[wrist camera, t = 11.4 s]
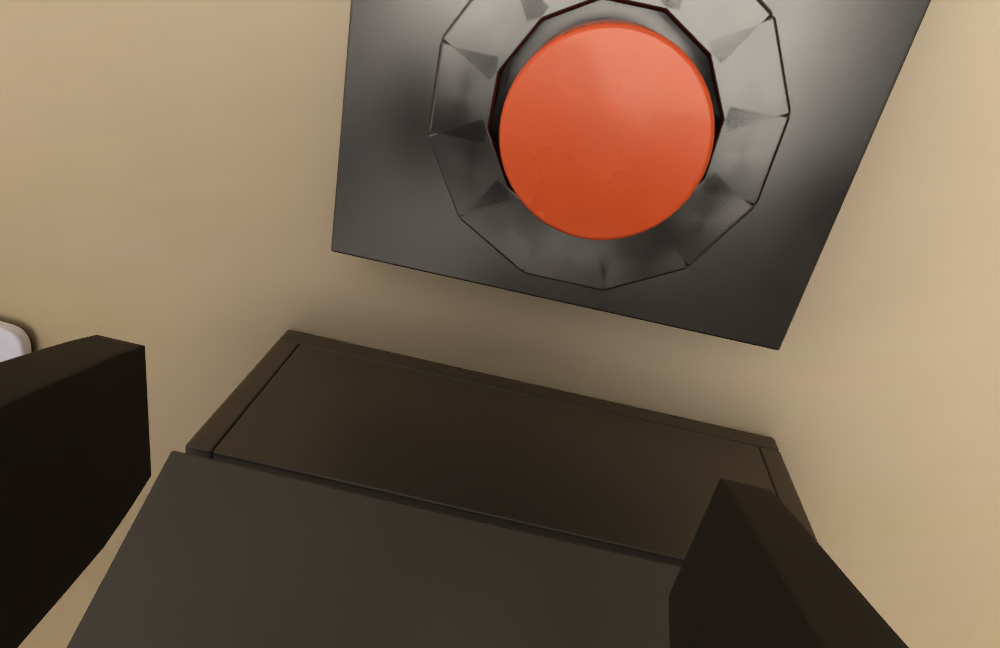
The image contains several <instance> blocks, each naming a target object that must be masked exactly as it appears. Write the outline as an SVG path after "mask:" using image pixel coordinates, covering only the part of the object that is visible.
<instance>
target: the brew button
mask: <svg viewBox="0 0 1000 648" xmlns="http://www.w3.org/2000/svg"><path fill="white" fill-rule="evenodd" d="M714 135H715V117H714V110H713V104H712V100H711V96H710V93H709V90H708V87H707V85H706V83H705V81H704V78H703V76H702V75H701V73H700V71H699V70H698V68H697V67H696V65H695V64H694V62H693V61H692V60H691V59H690V58H689V56H688V55H687V54H686V53H685V52H684V51H683V50H682V49H680V48H679V47H678V46H677V45H676V44H675V43H673V42H672V41H670V40H669V39H667V38H666V37H664V36H663V35H661V34H659V33H657V32H656V31H654V30H652V29H650V28H647V27H645V26H643V25H641V24H637V23H634V22H630V21H625V20H618V19H600V20H593V21H587V22H584V23H580V24H577V25H574V26H572V27H570V28H568V29H565V30H563V31H562V32H560V33H558V34H557V35H555V36H554V37H552V38H551V39H549V40H548V41H547V42H546V43H545V44H543V45H542V46H541V47H540V48H539V49H538V50H537V51H536V52H535V53H534V54H533V56H532V57H531V58H530V59H529V60H528V61H527V63H526V64H525V65H524V66H523V68H522V69H521V71H520V72H519V73H518V75H517V76H516V78H515V80H514V82H513V83H512V85H511V87H510V89H509V92H508V94H507V97H506V99H505V102H504V106H503V109H502V113H501V119H500V127H499V146H500V154H501V159H502V163H503V167H504V171H505V173H506V176H507V178H508V180H509V183H510V185H511V186H512V188H513V190H514V192H515V193H516V195H517V196H518V198H519V199H520V200H521V202H522V203H523V204H524V206H525V207H526V208H527V209H528V210H529V211H530V212H531V213H532V214H533V215H535V216H536V217H537V218H538V219H540V220H541V221H542V222H544V223H545V224H547V225H549V226H550V227H552V228H554V229H556V230H558V231H560V232H563V233H565V234H568V235H571V236H574V237H578V238H583V239H590V240H613V239H621V238H625V237H630V236H633V235H636V234H639V233H642V232H645V231H647V230H649V229H651V228H653V227H655V226H657V225H658V224H660V223H661V222H663V221H665V220H666V219H668V218H669V217H670V216H671V215H672V214H674V213H675V212H676V211H677V210H678V209H679V208H680V207H681V206H682V205H683V204H684V203H685V202H686V201H687V200H688V199H689V197H690V196H691V195H692V193H693V192H694V191H695V189H696V188H697V186H698V184H699V183H700V181H701V179H702V177H703V175H704V173H705V171H706V168H707V166H708V163H709V160H710V157H711V153H712V149H713V143H714Z"/></svg>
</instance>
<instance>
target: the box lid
mask: <svg viewBox="0 0 1000 648" xmlns="http://www.w3.org/2000/svg"><path fill="white" fill-rule="evenodd" d="M680 568H681V567H680V566H676V565H671V564H667V563H662V562H658V561H654V560H649V559H645V558H641V557H636V556H632V555H627V554H623V553H619V552H614V551H610V550H606V549H601V548H597V547H592V546H588V545H584V544H579V543H575V542H571V541H566V540H562V539H557V538H553V537H549V536H544V535H540V534H536V533H531V532H527V531H522V530H518V529H514V528H509V527H505V526H501V525H496V524H492V523H487V522H483V521H479V520H474V519H470V518H466V517H461V516H457V515H452V514H448V513H444V512H439V511H435V510H431V509H426V508H422V507H417V506H413V505H409V504H404V503H400V502H396V501H391V500H387V499H382V498H378V497H374V496H369V495H365V494H361V493H356V492H352V491H348V490H343V489H339V488H334V487H330V486H326V485H321V484H317V483H313V482H308V481H304V480H299V479H295V478H291V477H286V476H282V475H278V474H273V473H269V472H264V471H260V470H256V469H251V468H247V467H243V466H238V465H234V464H229V463H225V462H221V461H216V460H212V459H208V458H203V457H199V456H194V455H190V454H186V453H181V452H177V451H172V452H171V453H170V455H169V457H168V459H167V461H166V463H165V464H164V466H163V468H162V470H161V472H160V474H159V476H158V478H157V479H156V481H155V483H154V485H153V487H152V489H151V491H150V493H149V494H148V496H147V498H146V500H145V502H144V504H143V506H142V508H141V509H140V511H139V513H138V515H137V517H136V519H135V521H134V523H133V524H132V526H131V528H130V530H129V532H128V534H127V536H126V538H125V539H124V541H123V543H122V545H121V547H120V549H119V551H118V553H117V554H116V556H115V558H114V560H113V562H112V564H111V566H110V568H109V569H108V571H107V573H106V575H105V577H104V579H103V581H102V583H101V584H100V586H99V588H98V590H97V592H96V594H95V596H94V598H93V599H92V601H91V603H90V605H89V607H88V609H87V611H86V613H85V614H84V616H83V618H82V620H81V622H80V624H79V626H78V628H77V629H76V631H75V633H74V635H73V637H72V639H71V641H70V643H69V644H68V646H67V648H670V642H669V593H670V591H671V589H672V587H673V584H674V582H675V580H676V577H677V575H678V573H679V571H680Z"/></svg>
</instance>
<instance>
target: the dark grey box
mask: <svg viewBox="0 0 1000 648" xmlns="http://www.w3.org/2000/svg"><path fill="white" fill-rule="evenodd" d="M186 454H190V455H194V456H199V457H203V458H208V459H212V460H216V461H221V462H225V463H229V464H234V465H238V466H243V467H247V468H251V469H256V470H260V471H264V472H269V473H273V474H278V475H282V476H286V477H291V478H295V479H299V480H304V481H308V482H313V483H317V484H321V485H326V486H330V487H334V488H339V489H343V490H348V491H352V492H356V493H361V494H365V495H369V496H374V497H378V498H382V499H387V500H391V501H396V502H400V503H404V504H409V505H413V506H417V507H422V508H426V509H431V510H435V511H439V512H444V513H448V514H452V515H457V516H461V517H466V518H470V519H474V520H479V521H483V522H487V523H492V524H496V525H501V526H505V527H509V528H514V529H518V530H522V531H527V532H531V533H536V534H540V535H544V536H549V537H553V538H557V539H562V540H566V541H571V542H575V543H579V544H584V545H588V546H592V547H597V548H601V549H606V550H610V551H614V552H619V553H623V554H627V555H632V556H636V557H641V558H645V559H649V560H654V561H658V562H662V563H667V564H671V565H676V566H680V567H681V566H682V564H683V561H684V559H685V557H686V555H687V552H688V550H689V548H690V546H691V543H692V541H693V539H694V536H695V534H696V532H697V530H698V527H699V525H700V523H701V520H702V518H703V516H704V514H705V511H706V509H707V507H708V505H709V502H710V500H711V498H712V495H713V493H714V491H715V489H716V486H717V484H718V482H719V480H720V478H723V479H727V480H732V481H736V482H741V483H745V484H749V485H754V486H758V487H762V488H767V489H770V490H771V491H772V492H773V493H774V494H775V495H776V496H777V497H778V498H779V499H780V500H781V501H782V503H783V504H784V505H785V506H786V507H787V508H788V509H789V510H790V511H791V512H792V514H793V515H794V516H795V517H796V518H797V519H798V520H799V522H800V523H801V524H802V525H803V526H804V527H805V529H806V530H807V531H808V532H809V533H810V534H811V536H812V537H813V538H814V539H815V540H816V541H817V539H816V537H815V535H814V532H813V530H812V528H811V525H810V523H809V520H808V518H807V516H806V513H805V511H804V509H803V506H802V504H801V501H800V499H799V497H798V494H797V492H796V489H795V487H794V485H793V482H792V480H791V478H790V475H789V473H788V470H787V468H786V466H785V463H784V461H783V459H782V456H781V454H780V452H779V449H778V447H777V445H776V442H775V440H774V439H772V438H768V437H763V436H759V435H754V434H750V433H745V432H741V431H736V430H732V429H727V428H723V427H719V426H714V425H710V424H705V423H701V422H696V421H692V420H687V419H683V418H679V417H674V416H670V415H665V414H661V413H656V412H652V411H647V410H643V409H638V408H634V407H630V406H625V405H621V404H616V403H612V402H607V401H603V400H598V399H594V398H589V397H585V396H581V395H576V394H572V393H567V392H563V391H558V390H554V389H549V388H545V387H541V386H536V385H532V384H527V383H523V382H518V381H514V380H509V379H505V378H500V377H496V376H492V375H487V374H483V373H478V372H474V371H469V370H465V369H460V368H456V367H452V366H447V365H443V364H438V363H434V362H429V361H425V360H420V359H416V358H411V357H407V356H403V355H398V354H394V353H389V352H385V351H380V350H376V349H371V348H367V347H362V346H358V345H354V344H349V343H345V342H340V341H336V340H331V339H327V338H322V337H318V336H314V335H309V334H305V333H300V332H296V331H291V330H287V331H286V333H285V334H284V335H283V336H282V337H281V338H280V340H278V342H277V343H276V344H275V345H274V346H273V347H272V348H271V349H270V351H269V352H268V353H267V354H266V355H265V356H264V357H263V359H262V360H261V361H260V362H259V363H258V364H257V365H256V366H255V368H254V369H253V370H252V371H251V372H250V373H249V374H248V375H247V377H246V378H245V379H244V380H243V381H242V382H241V383H240V385H239V386H238V387H237V388H236V389H235V390H234V391H233V392H232V394H231V395H230V396H229V397H228V398H227V399H226V400H225V401H224V403H223V404H222V405H221V406H220V407H219V408H218V409H217V411H216V412H215V413H214V414H213V415H212V416H211V417H210V418H209V420H208V421H207V422H206V423H205V424H204V425H203V426H202V427H201V429H200V430H199V431H198V432H197V433H196V434H195V435H194V437H193V438H192V439H191V440H190V441H189V442H188V443H187V445H186ZM817 543H818V542H817Z"/></svg>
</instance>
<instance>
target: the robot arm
mask: <svg viewBox="0 0 1000 648" xmlns="http://www.w3.org/2000/svg"><path fill="white" fill-rule="evenodd" d="M150 477H151V461H150V441H149V421H148V401H147V382H146V362H145V346H143V345H139V344H134V343H130V342H126V341H121V340H117V339H112V338H108V337H104V336H99V335H94V336H90V337H86V338H81V339H77V340H73V341H69V342H66V343H62V344H59V345H55V346H52V347H48V348H45V349H41V350H38V351H35V352H31V343H30V339H29V336H28V335H27V334H26V332H25V331H24V330H22V329H21V328H20V327H18V326H15V325H13V324H9V323H6V322H2V321H0V648H17V647H18V646H19V645H20V644H21V643H22V642H23V640H24V639H25V638H26V637H27V636H28V635H29V633H30V632H31V631H32V630H33V629H34V628H35V627H36V625H37V624H38V623H39V622H40V621H41V620H42V619H43V617H44V616H45V615H46V614H47V613H48V612H49V611H50V609H51V608H52V607H53V606H54V605H55V604H56V602H57V601H58V600H59V599H60V598H61V597H62V595H63V594H64V593H65V592H66V591H67V590H68V588H69V587H70V586H71V585H72V584H73V583H74V581H75V580H76V579H77V578H78V577H79V576H80V574H81V573H82V572H83V571H84V570H85V569H86V567H87V566H88V565H89V564H90V563H91V562H92V560H93V559H94V558H95V557H96V556H97V554H98V553H99V552H100V551H101V550H102V548H103V547H104V546H105V545H106V543H107V542H108V540H109V539H110V537H111V536H112V534H113V533H114V531H115V530H116V529H117V527H118V526H119V524H120V523H121V521H122V520H123V518H124V517H125V516H126V514H127V513H128V511H129V509H130V508H131V506H132V505H133V503H134V502H135V500H136V499H137V497H138V495H139V494H140V492H141V491H142V489H143V488H144V486H145V484H146V483H147V481H148V480H149V478H150ZM669 642H670V648H909V647H908V646H907V645H906V644H905V643H904V642H903V641H902V640H901V638H900V637H899V636H898V635H897V634H896V633H895V632H894V631H893V629H892V628H891V627H890V626H889V625H888V624H887V623H886V621H885V620H884V619H883V618H882V617H881V616H880V615H879V614H878V612H877V611H876V610H875V609H874V608H873V607H872V606H871V604H870V603H869V602H868V601H867V600H866V599H865V597H864V596H863V595H862V594H861V593H860V592H859V590H858V589H857V588H856V587H855V586H854V585H853V584H852V582H851V581H850V580H849V579H848V578H847V576H846V575H845V574H844V573H843V572H842V571H841V569H840V568H839V567H838V566H837V565H836V564H835V562H834V561H833V560H832V559H831V558H830V557H829V555H828V554H827V553H826V552H825V551H824V550H823V548H822V547H821V546H820V545H819V544H818V543H817V541H816V540H815V539H814V538H813V537H812V536H811V534H810V533H809V532H808V531H807V530H806V529H805V527H804V526H803V525H802V524H801V523H800V522H799V520H798V519H797V518H796V517H795V516H794V515H793V514H792V512H791V511H790V510H789V509H788V508H787V507H786V506H785V505H784V504H783V503H782V501H781V500H780V499H779V498H778V497H777V496H776V495H775V494H774V493H773V492H772V491H771V490H770V489H767V488H762V487H758V486H754V485H749V484H745V483H741V482H736V481H732V480H727V479H723V478H720V480H719V482H718V484H717V486H716V489H715V491H714V493H713V495H712V498H711V500H710V502H709V505H708V507H707V509H706V511H705V514H704V516H703V518H702V520H701V523H700V525H699V527H698V530H697V532H696V534H695V536H694V539H693V541H692V543H691V546H690V548H689V550H688V552H687V555H686V557H685V559H684V561H683V564H682V566H681V568H680V571H679V573H678V575H677V577H676V580H675V582H674V584H673V587H672V589H671V591H670V593H669Z"/></svg>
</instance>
